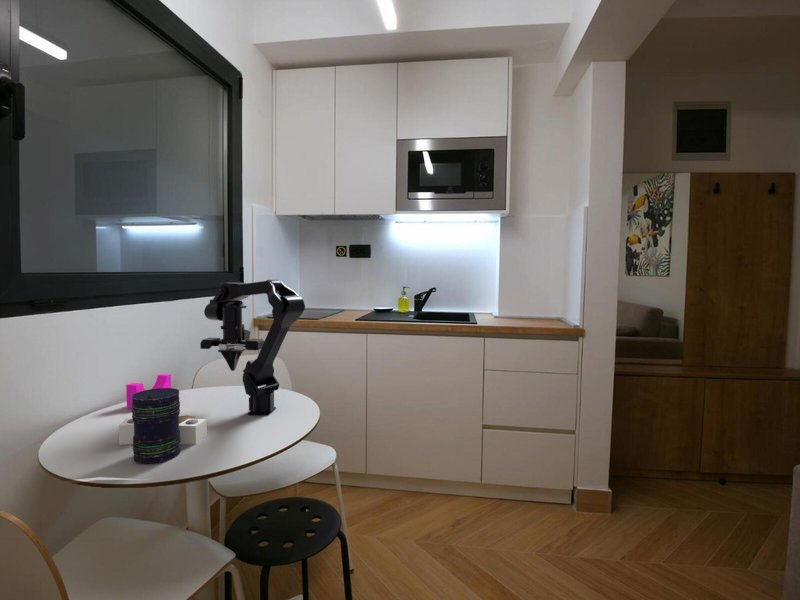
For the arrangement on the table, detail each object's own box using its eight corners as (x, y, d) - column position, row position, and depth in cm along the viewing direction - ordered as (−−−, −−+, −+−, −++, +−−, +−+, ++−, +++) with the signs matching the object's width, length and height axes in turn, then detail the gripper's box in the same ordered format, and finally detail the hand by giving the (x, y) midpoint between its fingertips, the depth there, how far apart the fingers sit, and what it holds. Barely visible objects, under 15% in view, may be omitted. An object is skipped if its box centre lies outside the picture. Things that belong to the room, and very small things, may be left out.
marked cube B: (148, 435, 113) (147, 416, 112) (142, 443, 108) (141, 423, 107) (126, 437, 111) (126, 417, 111) (119, 445, 106) (119, 424, 106)
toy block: (143, 409, 134) (143, 386, 133) (126, 408, 135) (126, 384, 135) (177, 396, 149) (177, 374, 148) (162, 394, 150) (161, 373, 149)
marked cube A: (206, 438, 112) (206, 418, 111) (196, 445, 107) (195, 425, 106) (188, 437, 112) (188, 417, 112) (177, 444, 107) (176, 424, 107)
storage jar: (147, 447, 105) (145, 387, 104) (188, 446, 106) (186, 387, 105) (123, 465, 95) (121, 400, 94) (169, 464, 96) (167, 399, 95)
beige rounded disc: (191, 423, 122) (191, 413, 121) (199, 431, 115) (198, 420, 115) (160, 431, 116) (159, 420, 116) (166, 439, 110) (165, 428, 110)
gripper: (270, 319, 142) (271, 365, 143) (216, 318, 143) (217, 364, 144) (257, 323, 131) (257, 373, 132) (198, 322, 132) (199, 371, 133)
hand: (233, 370), depth 136 cm, fingers closed
